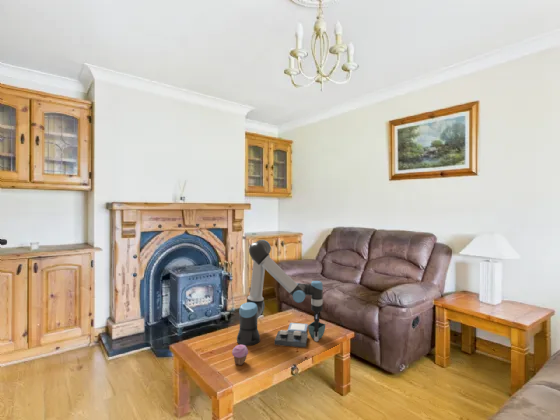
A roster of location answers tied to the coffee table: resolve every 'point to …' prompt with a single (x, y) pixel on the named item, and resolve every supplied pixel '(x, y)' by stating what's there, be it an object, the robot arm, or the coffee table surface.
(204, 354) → the coffee table surface
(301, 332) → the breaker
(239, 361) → the cupcake
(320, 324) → the flower pot
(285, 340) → the breaker panel
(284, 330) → the block
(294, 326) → the pad
